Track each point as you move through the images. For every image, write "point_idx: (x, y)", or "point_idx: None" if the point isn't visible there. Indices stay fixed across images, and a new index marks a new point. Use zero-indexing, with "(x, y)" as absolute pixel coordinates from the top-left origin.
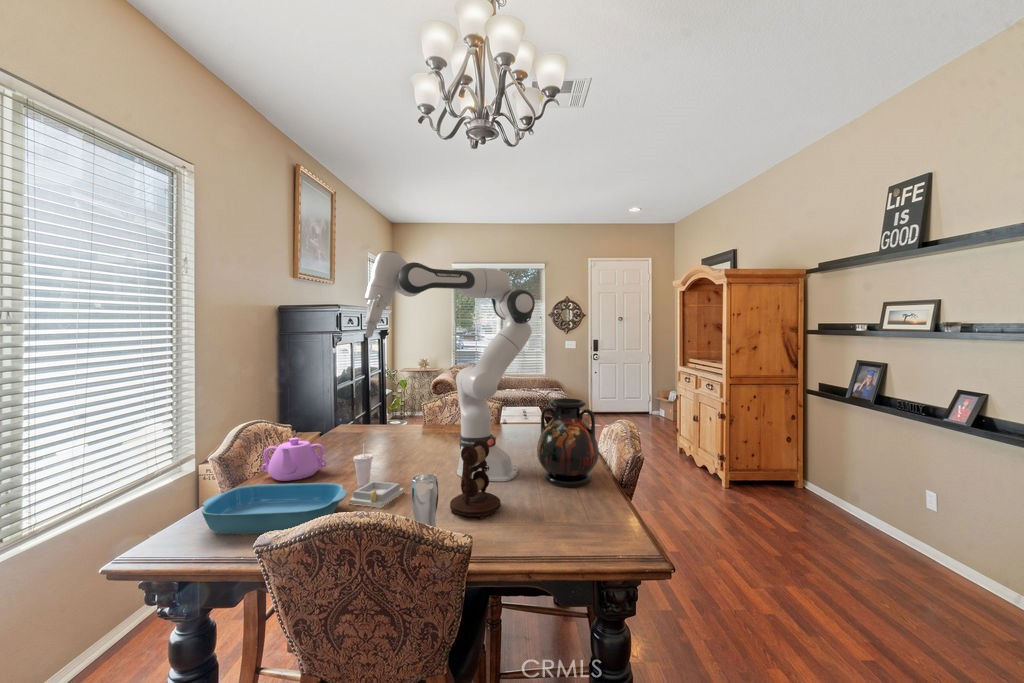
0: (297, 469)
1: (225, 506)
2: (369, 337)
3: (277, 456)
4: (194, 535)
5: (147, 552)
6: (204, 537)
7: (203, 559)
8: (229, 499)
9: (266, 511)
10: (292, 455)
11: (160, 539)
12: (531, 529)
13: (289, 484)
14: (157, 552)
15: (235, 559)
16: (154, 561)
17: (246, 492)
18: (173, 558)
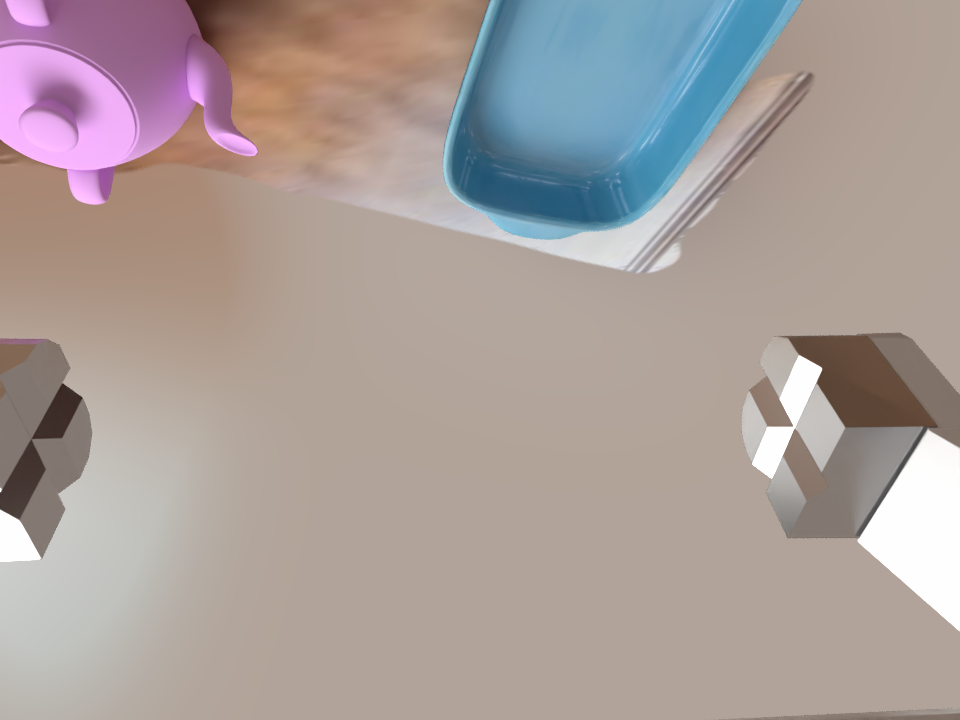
0: (190, 30)
1: (512, 185)
2: (52, 346)
3: (156, 144)
4: None
5: (626, 247)
6: None
7: (741, 151)
8: (489, 189)
9: (530, 71)
10: (162, 90)
11: (568, 247)
12: None
13: (480, 48)
14: (638, 233)
15: (796, 91)
16: (681, 226)
17: (455, 161)
18: (691, 201)
